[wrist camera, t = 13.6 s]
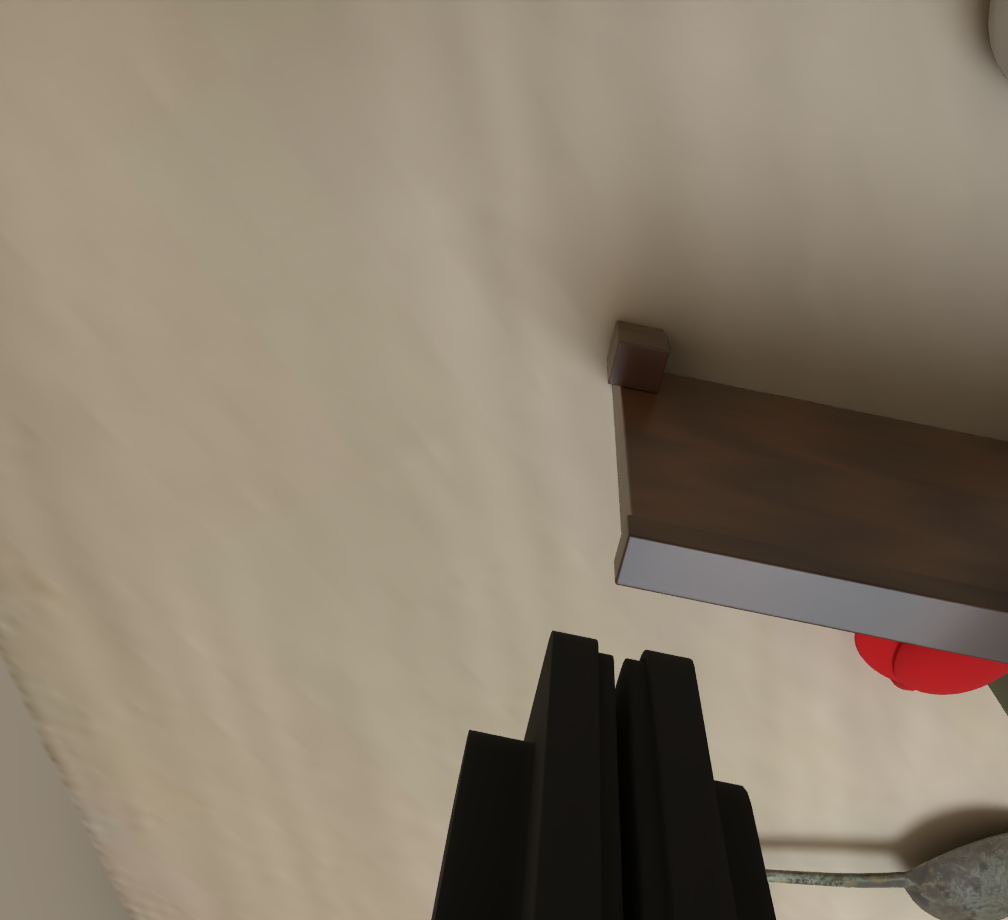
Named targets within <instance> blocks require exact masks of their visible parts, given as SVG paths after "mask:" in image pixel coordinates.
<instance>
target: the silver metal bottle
mask: <svg viewBox="0 0 1008 920" xmlns="http://www.w3.org/2000/svg"><path fill="white" fill-rule="evenodd" d="M988 28H989V38H990V45H991V48H992V51H993V54H994V57H995V61H996V62H997V64H998V66H999V67H1000V69H1001V71H1002V73H1003V74H1004V76H1005V77H1006V78H1007V79H1008V0H991V2H990V8H989V21H988Z"/></svg>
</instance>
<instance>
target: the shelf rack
mask: <svg viewBox="0 0 1008 920" xmlns="http://www.w3.org/2000/svg"><path fill="white" fill-rule="evenodd" d="M668 354H669V350H668V346H667V343H666V339H665V335H664V331H663V330H662V329H657V328H652V327H647V326H642V325H637V324H632V323H627V322H622V321H616V324H615V328H614V332H613V337H612V341H611V345H610V349H609V353H608V357H607V371H608V383H609V384H612V385H613V386H612V393H613V409H614V424H615V440H616V456H617V471H618V487H619V503H620V518H621V538H620V541H619V545H618V549H617V552H616V556H615V560H614V570H615V583H616V584H617V585H622V586H627V587H632V588H637V589H642V590H647V591H652V592H657V593H662V594H666V595H671V596H676V597H681V598H686V599H691V600H696V601H701V602H706V603H711V604H716V605H720V606H725V607H730V608H735V609H740V610H745V611H750V612H755V613H760V614H765V615H770V616H774V617H779V618H784V619H789V620H794V621H799V622H804V623H809V624H814V625H819V626H824V627H828V628H833V629H838V630H843V631H848V632H853V633H858V634H863V635H868V636H873V637H877V638H882V639H887V640H892V641H897V642H902V643H907V644H912V645H917V646H922V647H927V648H931V649H936V650H941V651H946V652H951V653H956V654H961V655H966V656H971V657H976V658H981V659H985V660H990V661H995V662H1000V663H1005V664H1008V442H1005V441H1000V440H995V439H990V438H985V437H980V436H975V435H971V434H966V433H961V432H956V431H951V430H946V429H941V428H936V427H931V426H926V425H921V424H916V423H911V422H906V421H901V420H896V419H891V418H886V417H881V416H876V415H871V414H866V413H861V412H856V411H851V410H846V409H841V408H836V407H832V406H827V405H822V404H817V403H812V402H807V401H802V400H797V399H792V398H787V397H782V396H777V395H772V394H767V393H762V392H757V391H752V390H747V389H742V388H737V387H732V386H727V385H722V384H717V383H712V382H707V381H702V380H697V379H693V378H688V377H683V376H678V375H673V374H668V373H663V372H664V368H665V365H666V361H667V358H668ZM988 686H989V687H990V689H991V690H992V692H993V694H994V695H995V697H996V698H997V700H998V701H999V703H1000V704H1001V706H1002V708H1003V709H1004V711H1005V712H1006V714H1007V715H1008V672H1007V673H1006V674H1005V675H1003V676H1002V677H1000V678H998V679H997V680H995V681H993V682H991V683H989V684H988Z"/></svg>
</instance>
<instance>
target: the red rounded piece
mask: <svg viewBox="0 0 1008 920" xmlns="http://www.w3.org/2000/svg"><path fill="white" fill-rule="evenodd" d="M855 644H856V647H857V650H858V652H859V654H860V655H861V657H862V658H863V659H864V660H865V662H866V663H867V664H868V665H869V666H871V667H872V668H873V669H874V670H876V671H877V672H879V673H880V674H882V675H884V676H885V677H887V678H889V679H891V681H892V682H893V683H894V685H896V686H897V687H899V688H901V689H904V690H911V691H914V690H917V691H920V692H924V693H929V694H938V695H947V694H957V693H963V692H967V691H971V690H974V689H977V688H980V687H983V686H985V685H987V684H989V683H991V682H993V681H995V680H997V679H998V678H1000V677H1002V676H1003V675H1005V674H1006V673H1007V672H1008V664H1005V663H1000V662H995V661H990V660H985V659H981V658H976V657H971V656H966V655H961V654H956V653H951V652H946V651H941V650H936V649H931V648H927V647H922V646H917V645H912V644H907V643H902V642H897V641H892V640H887V639H882V638H877V637H873V636H868V635H863V634H858V633H855Z"/></svg>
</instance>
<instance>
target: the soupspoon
mask: <svg viewBox="0 0 1008 920" xmlns="http://www.w3.org/2000/svg"><path fill="white" fill-rule="evenodd" d="M765 870H766V875H767V880H768V882H778V883H791V884H808V885H823V886H836V887H848V888H849V887H857V888H891V887H899V888H901V887H904V888H905V889H906V891H907V892H908V894H909V895H910V897H911V898H912V899H913V901H914V902H915V903H916V904H917V905H918V906H919V907H920V908H921V909H923V910H924V911H925V912H927V913H929V914H930V915H932V916H934V917H935V918H938V919H940V920H1001V919H1003V918H1006V917H1008V832H1006V833H1002V834H998V835H994V836H990V837H987V838H984V839H981V840H977V841H975V842H972V843H969V844H966V845H963V846H961V847H958V848H956V849H953V850H951V851H949V852H946V853H944V854H942V855H940V856H937V857H935V858H933V859H931V860H928V861H926V862H924V863H922V864H920V865H918V866H916V867H914V868H913V869H911V870H909V871H907V872H892V873H863V874H862V873H859V874H857V873H821V872H802V871H783V870H768V869H765Z"/></svg>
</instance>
